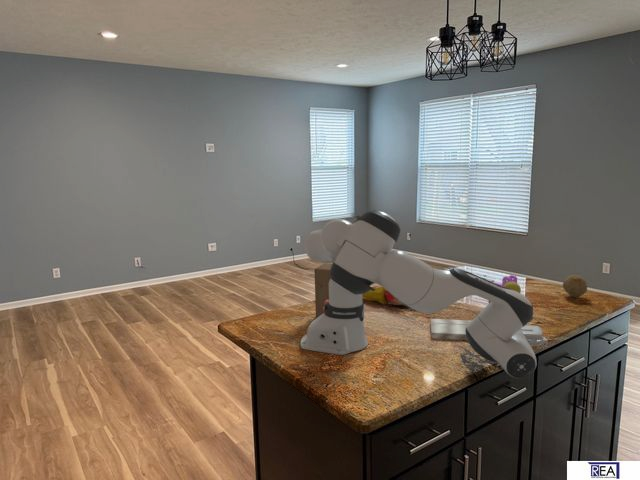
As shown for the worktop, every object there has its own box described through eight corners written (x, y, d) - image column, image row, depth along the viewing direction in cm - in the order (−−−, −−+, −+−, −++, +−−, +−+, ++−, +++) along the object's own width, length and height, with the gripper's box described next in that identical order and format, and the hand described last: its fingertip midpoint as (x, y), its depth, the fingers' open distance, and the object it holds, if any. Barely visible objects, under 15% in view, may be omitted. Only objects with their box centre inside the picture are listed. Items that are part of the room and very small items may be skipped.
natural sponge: (556, 295, 195) (558, 273, 193) (571, 293, 198) (572, 271, 197) (575, 301, 187) (577, 278, 185) (590, 298, 190) (592, 275, 188)
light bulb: (523, 306, 182) (525, 282, 180) (511, 308, 180) (512, 284, 178) (511, 302, 188) (512, 279, 187) (498, 304, 186) (499, 281, 184)
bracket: (516, 290, 205) (517, 275, 204) (508, 292, 202) (509, 277, 201) (493, 284, 216) (493, 270, 215) (485, 286, 213) (485, 272, 212)
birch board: (431, 338, 153) (431, 332, 152) (430, 323, 166) (430, 318, 166) (506, 342, 147) (506, 336, 147) (499, 326, 161) (499, 321, 161)
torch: (362, 306, 200) (414, 308, 186) (353, 302, 194) (406, 303, 180) (364, 288, 203) (416, 288, 189) (355, 283, 197) (408, 283, 182)
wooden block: (315, 318, 176) (313, 268, 172) (325, 310, 185) (324, 263, 181) (338, 321, 171) (337, 270, 168) (348, 313, 180) (347, 264, 177)
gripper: (550, 332, 121) (537, 315, 135) (471, 328, 126) (466, 312, 139) (548, 354, 122) (535, 335, 136) (470, 349, 127) (465, 331, 140)
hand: (500, 323), depth 137 cm, fingers open, 8 cm apart
